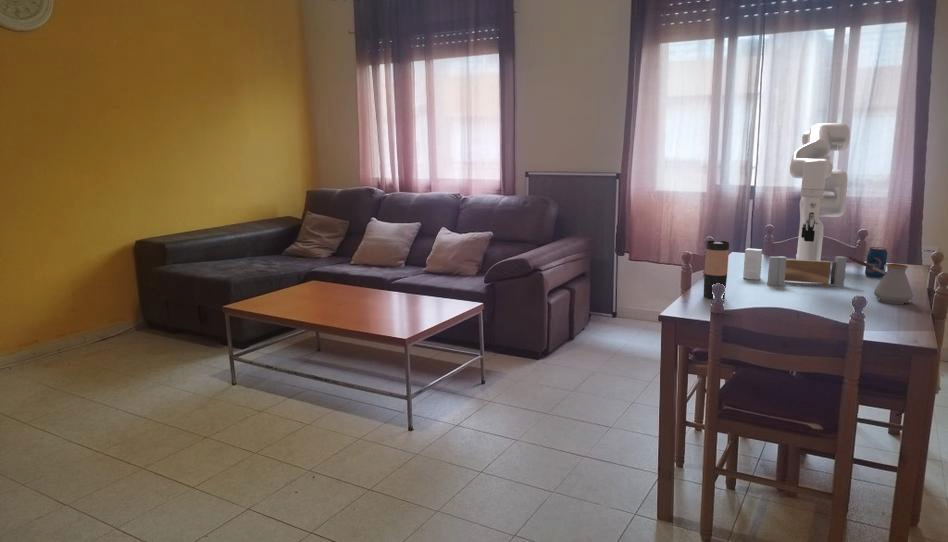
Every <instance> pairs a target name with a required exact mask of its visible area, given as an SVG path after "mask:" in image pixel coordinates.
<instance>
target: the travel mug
mask: <svg viewBox="0 0 948 542" xmlns="http://www.w3.org/2000/svg"><path fill="white" fill-rule="evenodd" d="M705 249H706V250H705V260H704V261H705V262H704V275H703V276H704V277H703V297H704V298H706V299H709V300H713V299H712V298H713V294H712V285H713V284H716V283H720V284H723V285H724V286H725V288H726V287H727V281H728V280H727V279H728V269H729V266H728V265H729V255H730V251H729V250H730V242H729V241H726V240H721V241H715V240H707V241H706V248H705ZM726 289H727V288H726ZM725 297H726V292H725V293H724V295H723V299H722V300H724V299H725Z"/></svg>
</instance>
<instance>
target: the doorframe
mask: <svg viewBox="0 0 948 542" xmlns="http://www.w3.org/2000/svg"><path fill="white" fill-rule="evenodd" d="M787 259H788V258H787V257H786V256H783V255H782V256H769V259H768V260H769V262H768V271H767V273H768V274H767V283H766V284H768V286H778V285H784V286H785V285H801V286H803V287H804V286H805V287H811V286H812V287H815V286H816V287H820V286H821V287H828V286H829V287H837V286H838V285H839V286H840V287H842V286H843V287H844V286H845V285H844V284H845V275H846V268H847V262H845V261H847V260H848V258H847V257H846V256H837V255H836V256H835V258H834V262H836V267H835V275H834V284H830V282H829V284H826V283H811V282H798V283H797V282H796V283H791V282H788V283H787V282H785V281H784V280H785V270H786V260H787ZM846 259H847V260H846ZM784 286H783V287H784ZM801 286H800V287H801ZM839 286H838V287H839ZM785 287H786V286H785Z"/></svg>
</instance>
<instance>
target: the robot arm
mask: <svg viewBox="0 0 948 542" xmlns="http://www.w3.org/2000/svg"><path fill="white" fill-rule="evenodd" d="M850 138H851V130H850V127H849V126H848V124H847V123H844V122H830V123H829V122H821V123H816V124H814V125H812V126H811V127H810V129H809V130H807V131H805V132H803V134H802V136H801V141H802V142H801V143H802V146H800V147H799V148H798V149H796V150H795V151H794V152H793V155H792V157H791V159H790V165H789V173H790V176H791V177H792V178H794V179H801V186H800V187H801V188H800V200H799V215H800V216H799V218H800V219H799V230H798V241H797V249H796V251H797V253H796V254H795V260H811V261H821V260H822V259H821V258H822V257H821V256H822V247H823V239H824V229H825V228H824V224H823V222H822V220H820V217H827V218H838V217H842V216H843V214H844V213H845V210H846V209H845V208H846V200H847V199H846V198H847V192H848V191H847V190H848V173H847V172H846V171H845V170H843V169H833V168H834V166H833V163H832V162H831V159H830V158H831V157H830V155H829V154H830V151H831V152H832V151H837V152H840V151H841V152H842V151H844V150H846V149H847V148H848V147H849V144H850ZM824 192H825V193H827V192H830V193H831V192H832V193H833V194H824Z"/></svg>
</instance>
